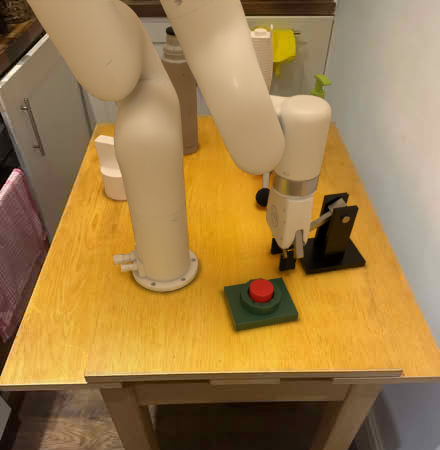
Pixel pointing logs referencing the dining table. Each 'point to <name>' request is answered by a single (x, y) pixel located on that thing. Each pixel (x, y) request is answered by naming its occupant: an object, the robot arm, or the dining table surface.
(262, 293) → the button
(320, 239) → the bracket
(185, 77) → the thermos bottle
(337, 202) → the lever
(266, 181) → the mechanical valve
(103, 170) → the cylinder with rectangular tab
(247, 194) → the dining table surface
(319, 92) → the soap dispenser
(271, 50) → the skyscraper
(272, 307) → the button box
